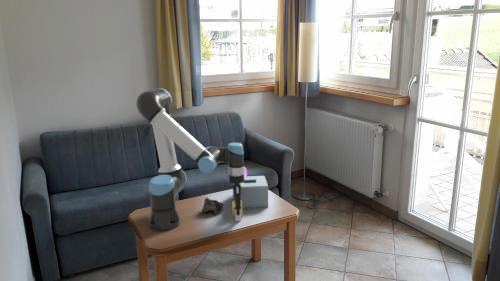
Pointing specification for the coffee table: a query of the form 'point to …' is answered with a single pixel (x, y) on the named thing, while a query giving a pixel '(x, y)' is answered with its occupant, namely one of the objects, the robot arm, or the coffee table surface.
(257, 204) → the coin box
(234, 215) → the block
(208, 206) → the fossil
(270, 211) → the coffee table surface
